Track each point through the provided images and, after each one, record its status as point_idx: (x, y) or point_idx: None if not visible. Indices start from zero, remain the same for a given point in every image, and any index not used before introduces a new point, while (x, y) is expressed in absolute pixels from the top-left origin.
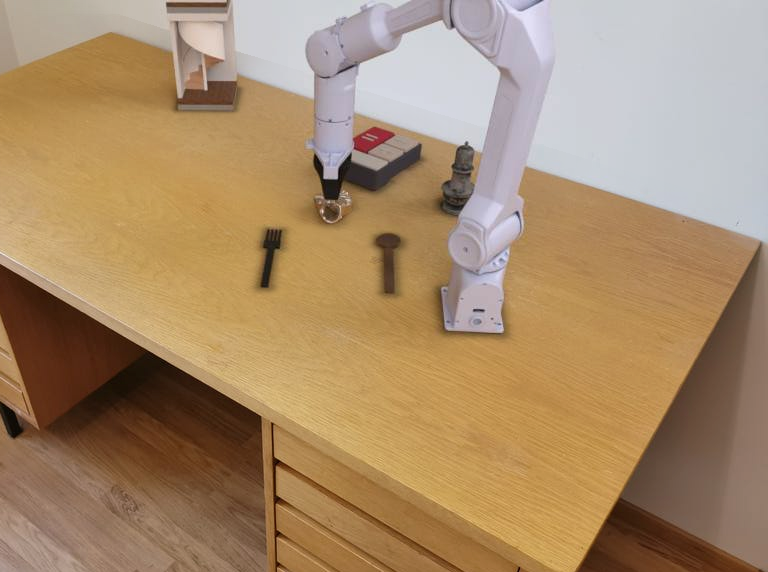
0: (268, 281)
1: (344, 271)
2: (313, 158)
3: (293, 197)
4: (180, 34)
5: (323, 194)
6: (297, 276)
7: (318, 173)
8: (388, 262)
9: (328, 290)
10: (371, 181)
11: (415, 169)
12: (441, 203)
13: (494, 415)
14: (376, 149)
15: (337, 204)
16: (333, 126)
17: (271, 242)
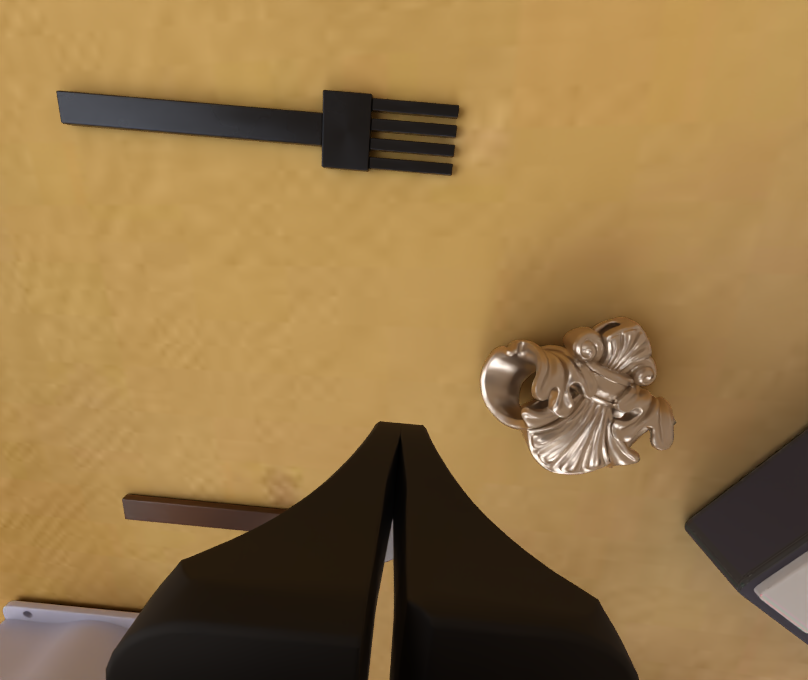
0: (87, 124)
1: (212, 395)
2: (279, 628)
3: (714, 226)
4: None
5: (374, 431)
6: (160, 240)
7: (253, 532)
8: (258, 520)
9: (105, 342)
10: (718, 538)
11: (792, 641)
12: None
13: None
14: None
15: (528, 424)
16: None
17: (351, 128)
